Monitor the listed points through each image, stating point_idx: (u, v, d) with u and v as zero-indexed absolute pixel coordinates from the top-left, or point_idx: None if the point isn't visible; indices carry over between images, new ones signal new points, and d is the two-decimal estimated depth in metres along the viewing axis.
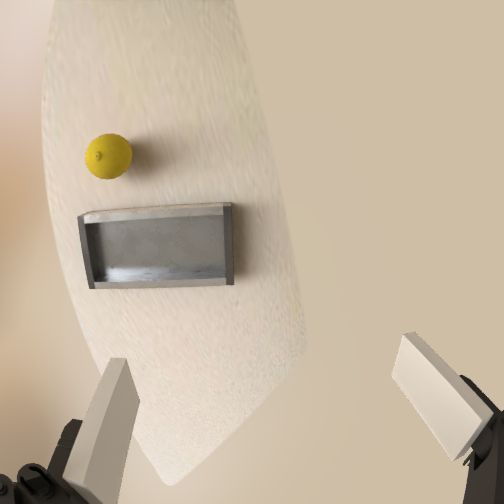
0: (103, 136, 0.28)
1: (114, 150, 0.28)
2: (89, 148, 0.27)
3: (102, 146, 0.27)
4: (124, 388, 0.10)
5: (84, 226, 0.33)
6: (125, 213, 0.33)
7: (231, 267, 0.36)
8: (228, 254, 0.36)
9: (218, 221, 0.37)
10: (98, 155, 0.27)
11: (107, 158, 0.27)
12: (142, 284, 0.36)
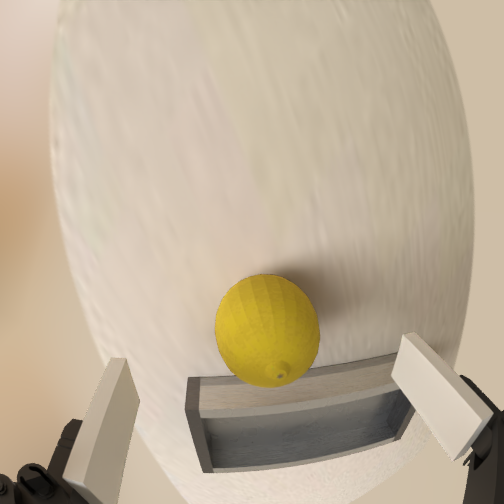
0: (277, 310, 0.13)
1: (312, 349, 0.13)
2: (245, 345, 0.12)
3: (290, 349, 0.12)
4: (124, 388, 0.10)
5: (200, 421, 0.18)
6: (285, 405, 0.18)
7: (405, 426, 0.22)
8: (409, 416, 0.21)
9: None
10: (285, 375, 0.12)
11: (299, 371, 0.13)
12: (290, 464, 0.21)
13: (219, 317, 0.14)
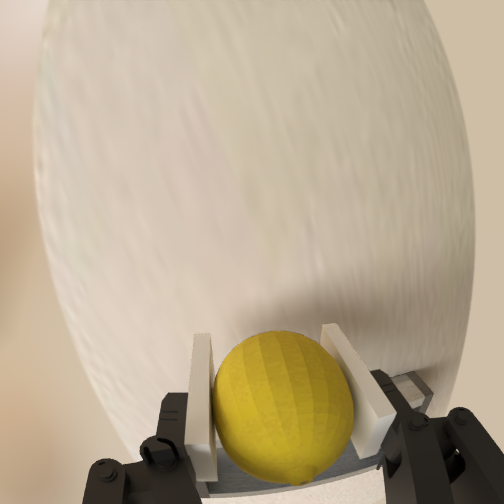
0: (301, 401, 0.08)
1: (346, 441, 0.08)
2: (255, 448, 0.07)
3: (319, 451, 0.07)
4: (211, 360, 0.13)
5: None
6: None
7: None
8: None
9: None
10: (311, 480, 0.07)
11: (327, 467, 0.08)
12: (288, 488, 0.19)
13: (217, 397, 0.09)
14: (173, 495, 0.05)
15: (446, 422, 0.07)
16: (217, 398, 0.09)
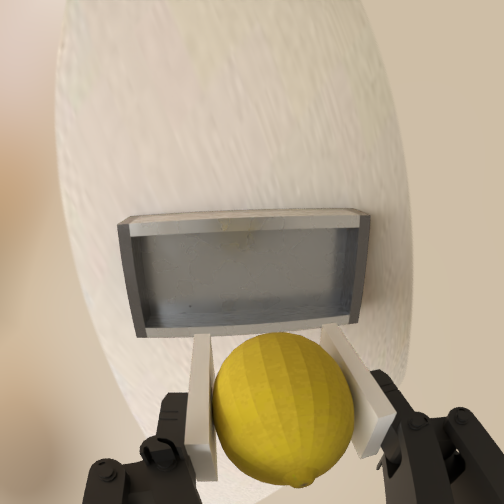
0: (302, 403, 0.08)
1: (347, 443, 0.08)
2: (255, 450, 0.07)
3: (319, 453, 0.07)
4: (211, 360, 0.13)
5: (130, 241, 0.21)
6: (207, 221, 0.21)
7: (359, 300, 0.25)
8: (359, 282, 0.24)
9: (339, 235, 0.25)
10: (311, 482, 0.07)
11: (328, 469, 0.08)
12: (227, 330, 0.24)
13: (217, 399, 0.09)
14: (173, 495, 0.05)
15: (446, 422, 0.07)
16: (217, 400, 0.09)
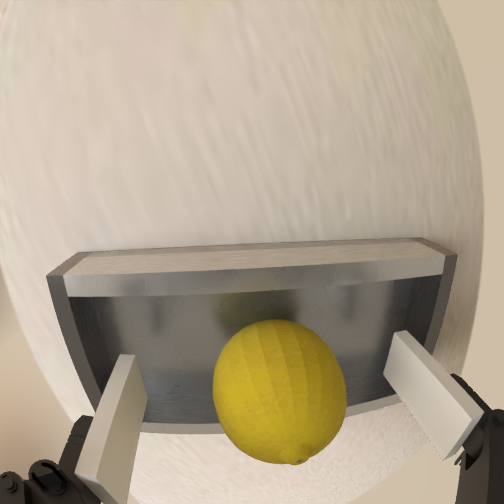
0: (296, 381, 0.09)
1: (339, 422, 0.09)
2: (254, 426, 0.08)
3: (313, 429, 0.08)
4: (133, 384, 0.11)
5: (68, 303, 0.11)
6: (195, 274, 0.11)
7: None
8: (428, 350, 0.14)
9: (404, 280, 0.15)
10: (306, 459, 0.08)
11: (322, 447, 0.09)
12: None
13: (218, 381, 0.10)
14: None
15: None
16: (218, 381, 0.10)
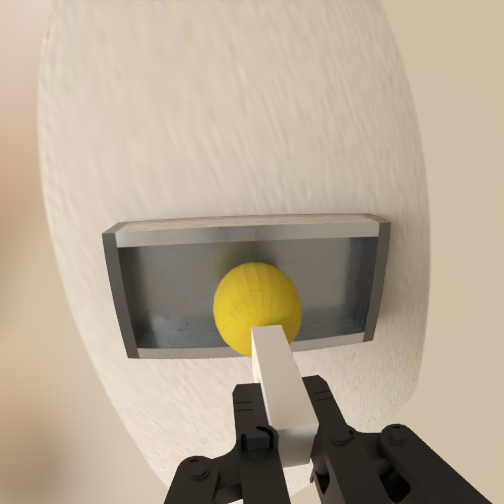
0: (263, 289, 0.16)
1: (294, 323, 0.16)
2: (237, 317, 0.15)
3: (274, 320, 0.15)
4: None
5: (116, 252, 0.18)
6: (205, 230, 0.18)
7: (375, 316, 0.22)
8: (376, 297, 0.21)
9: (355, 244, 0.22)
10: None
11: None
12: (229, 351, 0.21)
13: (216, 297, 0.17)
14: (262, 483, 0.06)
15: (379, 443, 0.07)
16: (216, 297, 0.17)
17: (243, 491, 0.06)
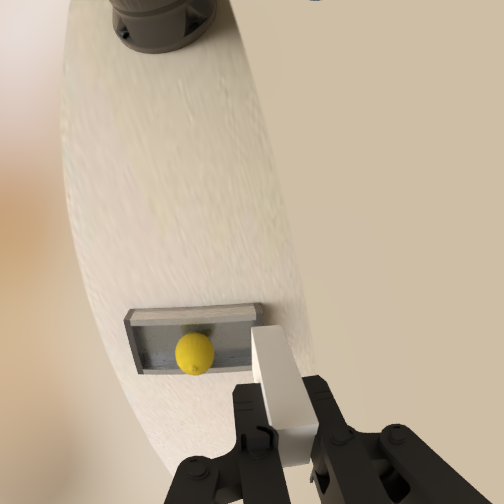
0: (192, 348, 0.36)
1: (206, 362, 0.36)
2: (182, 359, 0.36)
3: (196, 361, 0.35)
4: None
5: (131, 327, 0.39)
6: (169, 319, 0.39)
7: None
8: None
9: (250, 319, 0.43)
10: (195, 370, 0.35)
11: (201, 369, 0.36)
12: None
13: (176, 349, 0.38)
14: (262, 483, 0.06)
15: (379, 443, 0.07)
16: (176, 349, 0.38)
17: (243, 491, 0.06)
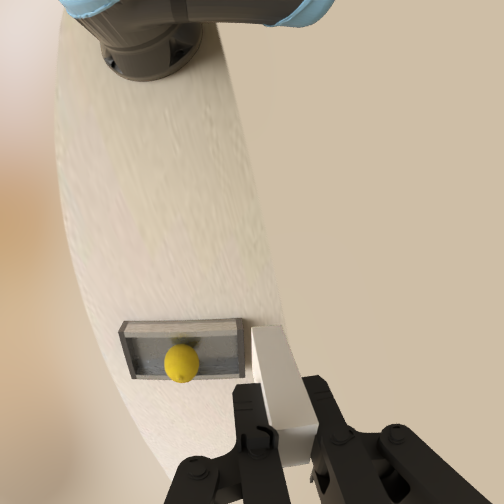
0: (179, 359, 0.40)
1: (191, 372, 0.40)
2: (170, 369, 0.39)
3: (182, 371, 0.39)
4: None
5: (125, 339, 0.42)
6: (159, 333, 0.42)
7: (243, 367, 0.46)
8: (241, 359, 0.45)
9: None
10: (181, 379, 0.39)
11: (187, 378, 0.40)
12: None
13: None
14: (262, 483, 0.06)
15: (379, 443, 0.07)
16: None
17: (243, 491, 0.06)
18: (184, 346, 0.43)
